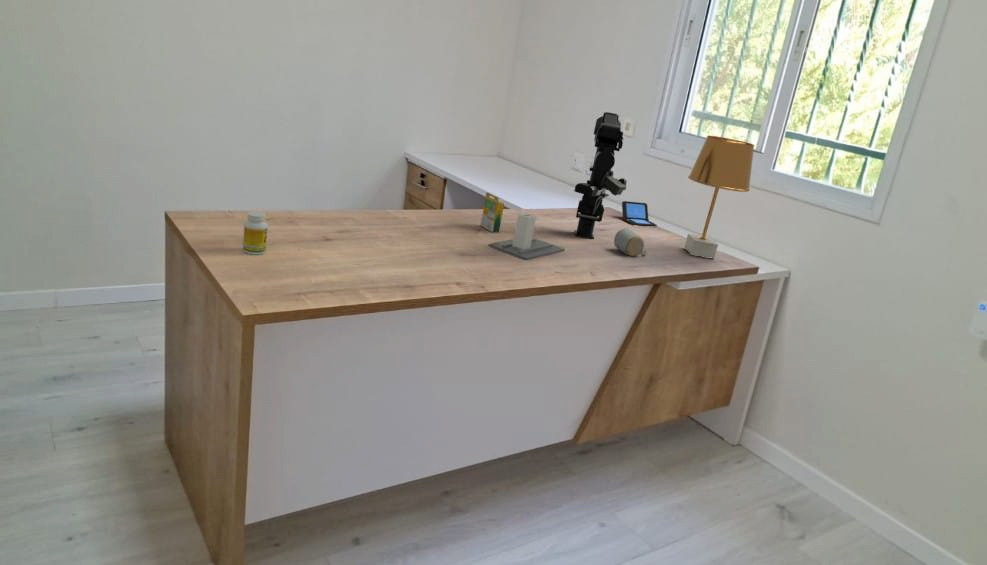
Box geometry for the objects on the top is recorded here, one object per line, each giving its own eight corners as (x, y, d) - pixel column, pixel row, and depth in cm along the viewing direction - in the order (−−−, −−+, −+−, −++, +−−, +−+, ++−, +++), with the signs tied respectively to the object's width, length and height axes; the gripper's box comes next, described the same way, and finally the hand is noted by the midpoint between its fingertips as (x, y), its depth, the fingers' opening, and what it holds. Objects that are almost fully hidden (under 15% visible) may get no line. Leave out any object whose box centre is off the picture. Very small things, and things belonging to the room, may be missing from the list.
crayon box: (499, 232, 227) (505, 198, 223) (492, 232, 225) (498, 197, 222) (487, 225, 233) (493, 192, 229) (480, 225, 231) (485, 191, 227)
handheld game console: (631, 226, 273) (636, 208, 270) (617, 218, 282) (621, 200, 279) (657, 228, 278) (662, 210, 275) (642, 220, 287) (646, 202, 284)
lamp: (736, 267, 237) (771, 150, 224) (677, 257, 237) (709, 138, 224) (718, 250, 257) (750, 141, 244) (663, 241, 256) (692, 131, 243)
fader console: (528, 237, 227) (529, 234, 226) (564, 250, 220) (565, 246, 219) (488, 245, 209) (489, 242, 209) (525, 260, 202) (526, 256, 202)
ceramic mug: (624, 256, 225) (629, 234, 223) (611, 248, 232) (616, 226, 230) (650, 258, 229) (656, 236, 227) (637, 250, 236) (643, 229, 234)
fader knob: (519, 244, 214) (525, 212, 211) (530, 247, 212) (536, 216, 209) (512, 245, 211) (518, 213, 208) (522, 249, 209) (529, 217, 205)
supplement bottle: (241, 247, 170) (243, 210, 167) (263, 248, 172) (266, 211, 169) (243, 255, 165) (246, 216, 162) (267, 255, 168) (269, 217, 165)
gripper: (611, 173, 204) (599, 224, 209) (638, 171, 218) (626, 218, 223) (579, 164, 209) (568, 214, 214) (607, 163, 224) (596, 209, 229)
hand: (591, 214), depth 220 cm, fingers closed
